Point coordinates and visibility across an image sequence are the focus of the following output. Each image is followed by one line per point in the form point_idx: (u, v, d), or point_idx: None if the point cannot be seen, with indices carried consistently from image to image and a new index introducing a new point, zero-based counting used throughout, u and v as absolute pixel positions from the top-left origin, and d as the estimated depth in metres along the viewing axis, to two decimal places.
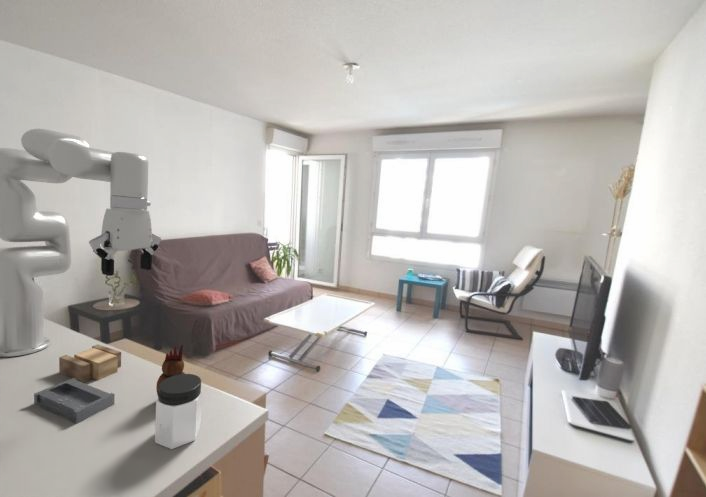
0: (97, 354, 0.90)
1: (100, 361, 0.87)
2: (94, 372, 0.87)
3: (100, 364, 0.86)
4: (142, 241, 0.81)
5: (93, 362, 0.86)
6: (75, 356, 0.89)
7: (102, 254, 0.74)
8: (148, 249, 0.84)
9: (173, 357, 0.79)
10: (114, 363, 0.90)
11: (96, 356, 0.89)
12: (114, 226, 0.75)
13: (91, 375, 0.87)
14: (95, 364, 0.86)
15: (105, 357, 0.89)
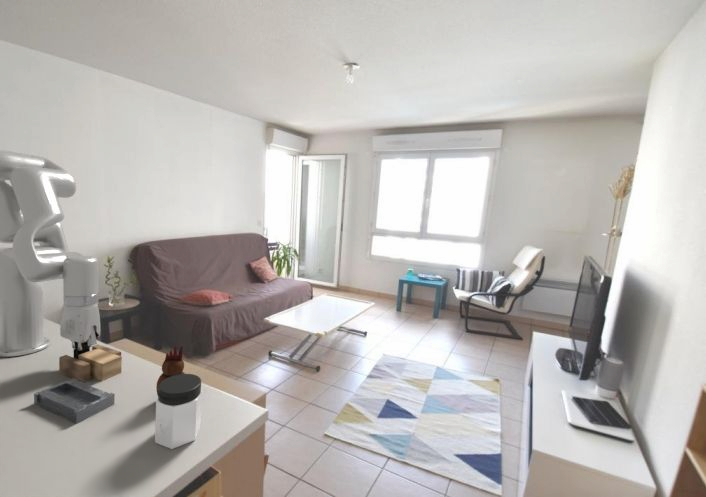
0: (101, 354, 0.90)
1: (104, 362, 0.86)
2: (98, 373, 0.86)
3: (104, 365, 0.86)
4: None
5: (97, 363, 0.86)
6: (79, 356, 0.89)
7: None
8: None
9: (173, 357, 0.79)
10: (118, 364, 0.90)
11: (100, 357, 0.89)
12: (99, 319, 0.91)
13: (95, 376, 0.87)
14: (99, 365, 0.86)
15: (109, 358, 0.89)
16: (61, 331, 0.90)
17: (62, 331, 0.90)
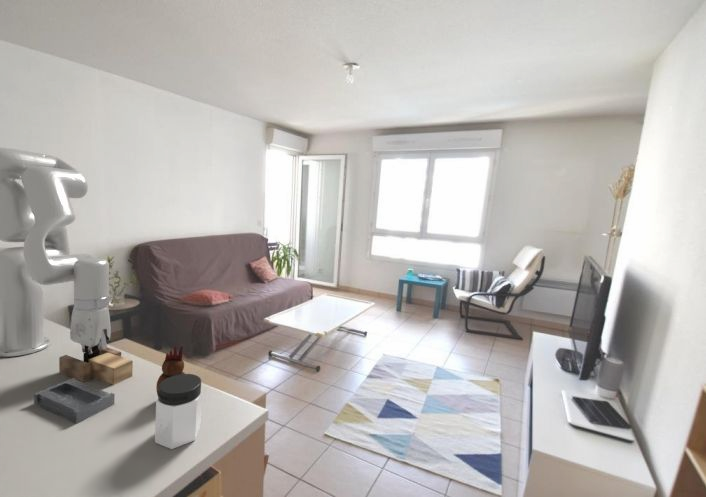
0: (111, 358, 0.89)
1: (115, 366, 0.85)
2: (110, 377, 0.85)
3: (115, 369, 0.85)
4: None
5: (108, 367, 0.85)
6: (89, 361, 0.87)
7: None
8: None
9: (173, 357, 0.79)
10: (129, 368, 0.88)
11: (111, 361, 0.88)
12: None
13: (106, 380, 0.86)
14: (110, 369, 0.85)
15: (120, 362, 0.87)
16: (71, 334, 0.88)
17: (72, 335, 0.88)
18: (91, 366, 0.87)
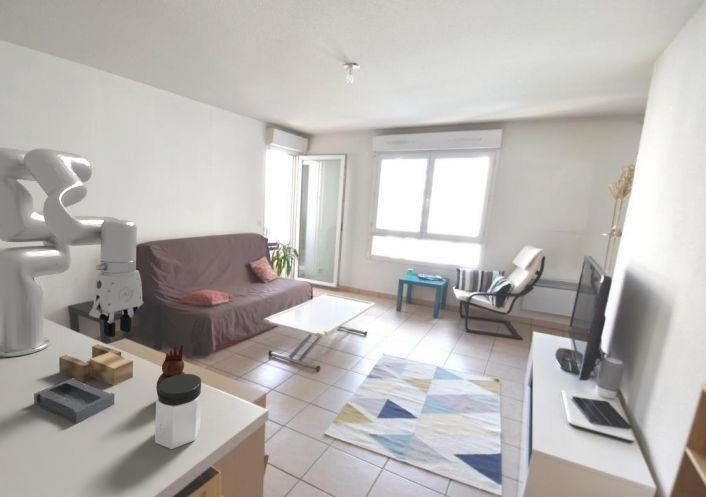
0: (112, 358, 0.89)
1: (115, 366, 0.85)
2: (110, 377, 0.85)
3: (115, 369, 0.84)
4: None
5: (108, 367, 0.85)
6: (91, 360, 0.87)
7: None
8: None
9: (173, 357, 0.79)
10: (129, 368, 0.88)
11: (112, 361, 0.87)
12: None
13: (106, 380, 0.85)
14: (110, 369, 0.85)
15: (121, 362, 0.87)
16: (109, 306, 0.80)
17: (111, 305, 0.81)
18: (92, 366, 0.87)
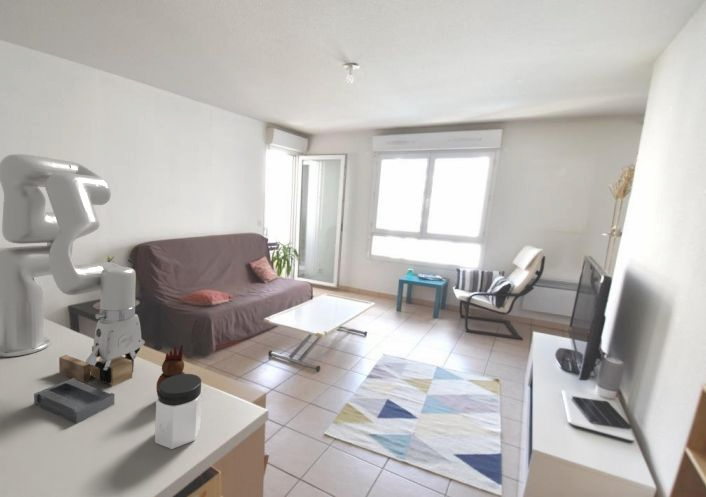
0: None
1: (114, 366, 0.85)
2: None
3: (114, 369, 0.84)
4: None
5: None
6: None
7: None
8: None
9: (173, 357, 0.79)
10: (129, 368, 0.88)
11: (112, 360, 0.87)
12: None
13: None
14: None
15: (120, 362, 0.87)
16: (109, 354, 0.82)
17: (111, 353, 0.82)
18: (93, 365, 0.87)
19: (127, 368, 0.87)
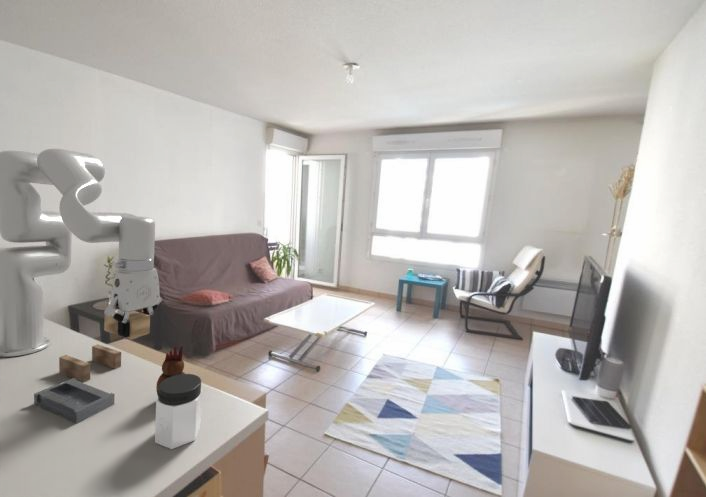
0: None
1: (133, 319, 0.81)
2: None
3: (133, 322, 0.81)
4: None
5: None
6: (106, 314, 0.83)
7: None
8: None
9: (173, 357, 0.79)
10: (147, 323, 0.84)
11: None
12: None
13: None
14: None
15: (138, 316, 0.83)
16: (128, 305, 0.78)
17: (130, 304, 0.79)
18: (107, 319, 0.83)
19: (145, 322, 0.84)
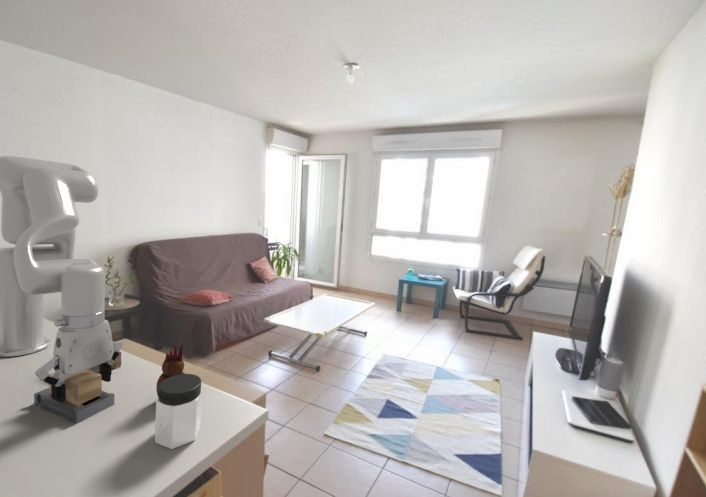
0: None
1: (79, 382, 0.72)
2: (73, 395, 0.72)
3: (79, 386, 0.71)
4: None
5: (71, 384, 0.72)
6: (50, 376, 0.74)
7: None
8: None
9: (173, 357, 0.79)
10: (97, 383, 0.75)
11: (76, 375, 0.74)
12: None
13: (69, 399, 0.72)
14: (73, 386, 0.72)
15: (86, 377, 0.74)
16: (71, 368, 0.69)
17: (74, 366, 0.69)
18: None
19: (95, 383, 0.75)
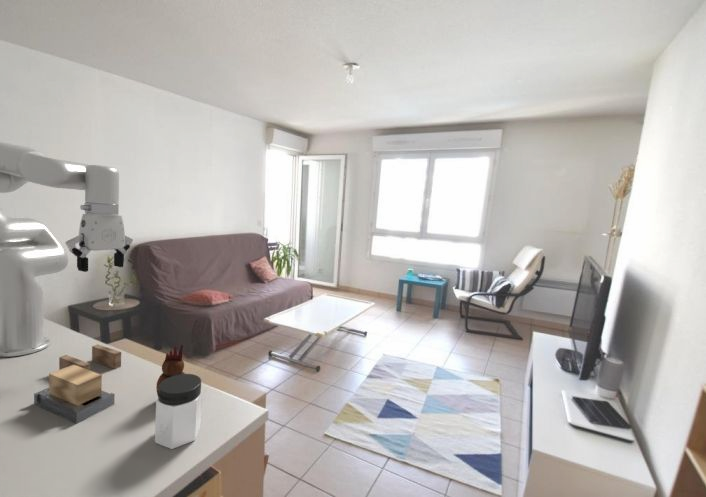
0: (77, 372, 0.76)
1: (79, 382, 0.72)
2: (73, 395, 0.72)
3: (79, 386, 0.71)
4: None
5: (71, 384, 0.72)
6: (50, 376, 0.74)
7: None
8: None
9: (173, 357, 0.79)
10: (97, 383, 0.75)
11: (76, 375, 0.74)
12: None
13: (69, 399, 0.72)
14: (73, 386, 0.72)
15: (86, 377, 0.74)
16: (93, 244, 0.87)
17: (95, 243, 0.88)
18: (52, 382, 0.74)
19: (95, 383, 0.75)
